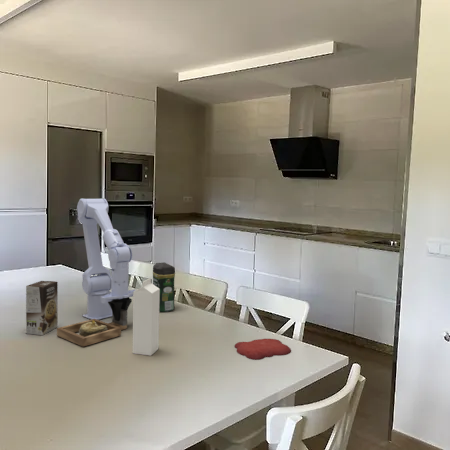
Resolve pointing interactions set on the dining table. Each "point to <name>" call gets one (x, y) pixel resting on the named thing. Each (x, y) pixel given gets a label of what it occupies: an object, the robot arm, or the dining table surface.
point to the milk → (146, 319)
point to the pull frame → (112, 332)
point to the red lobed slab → (262, 348)
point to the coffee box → (41, 307)
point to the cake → (91, 329)
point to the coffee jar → (164, 285)
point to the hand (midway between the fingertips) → (119, 319)
